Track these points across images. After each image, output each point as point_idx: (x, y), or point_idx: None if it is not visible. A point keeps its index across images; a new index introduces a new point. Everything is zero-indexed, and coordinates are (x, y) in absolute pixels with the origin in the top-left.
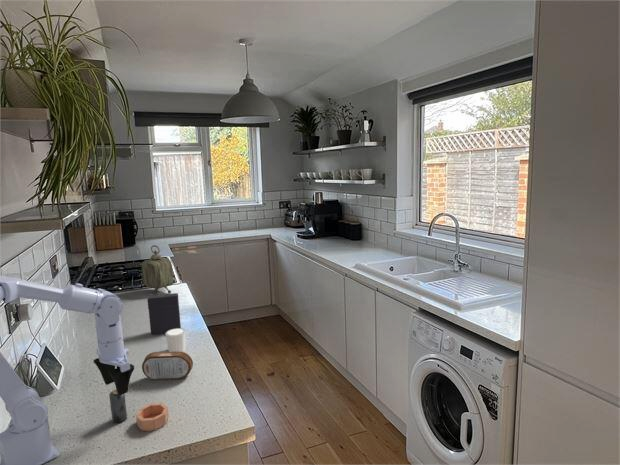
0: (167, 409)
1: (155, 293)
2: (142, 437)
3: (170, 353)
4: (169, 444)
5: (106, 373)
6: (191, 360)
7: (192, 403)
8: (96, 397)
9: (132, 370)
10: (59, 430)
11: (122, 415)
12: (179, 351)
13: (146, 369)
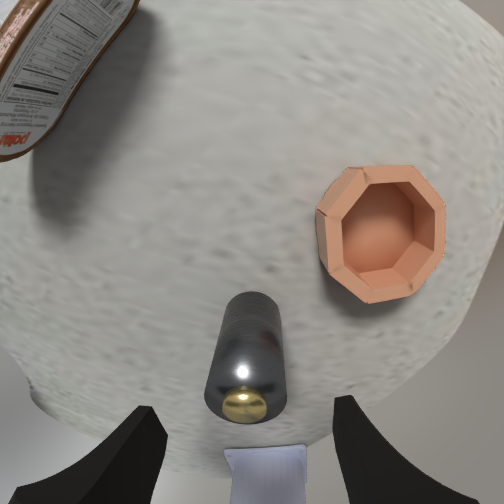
0: (415, 171)
1: None
2: None
3: (19, 12)
4: (490, 234)
5: (142, 484)
6: None
7: (356, 48)
8: (66, 321)
9: (465, 501)
10: (190, 428)
11: (280, 326)
12: None
13: (14, 143)
